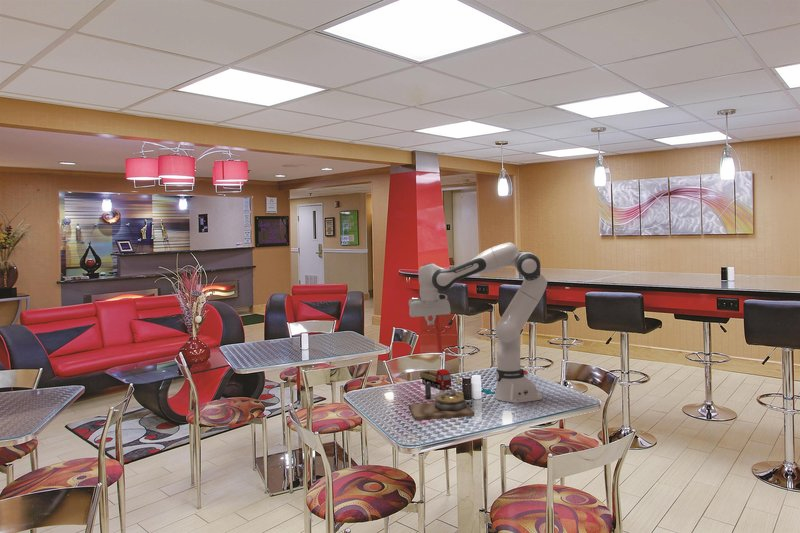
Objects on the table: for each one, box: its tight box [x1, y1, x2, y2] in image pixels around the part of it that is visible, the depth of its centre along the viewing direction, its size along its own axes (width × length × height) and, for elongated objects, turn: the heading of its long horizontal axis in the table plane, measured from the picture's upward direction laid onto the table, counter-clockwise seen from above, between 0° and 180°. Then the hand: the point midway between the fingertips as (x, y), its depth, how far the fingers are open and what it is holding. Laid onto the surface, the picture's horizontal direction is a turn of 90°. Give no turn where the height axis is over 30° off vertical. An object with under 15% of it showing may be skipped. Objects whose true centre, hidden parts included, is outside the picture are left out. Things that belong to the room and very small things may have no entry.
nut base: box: [408, 398, 475, 421], centre depth 236 cm, size 26×18×4 cm
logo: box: [453, 378, 496, 395], centre depth 278 cm, size 34×1×10 cm
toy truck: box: [419, 368, 454, 391], centre depth 280 cm, size 7×21×10 cm, turn 33°
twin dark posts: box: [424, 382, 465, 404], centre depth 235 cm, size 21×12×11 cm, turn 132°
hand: (430, 324), depth 257 cm, fingers closed
